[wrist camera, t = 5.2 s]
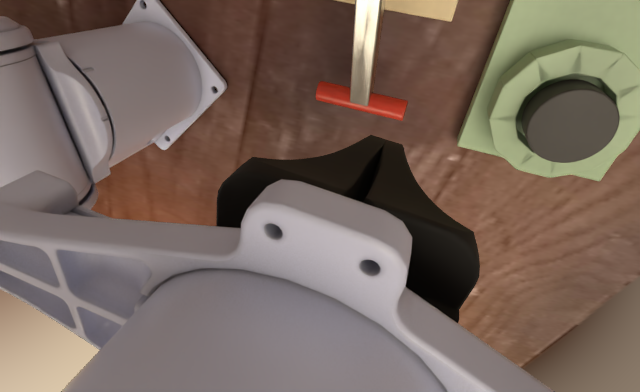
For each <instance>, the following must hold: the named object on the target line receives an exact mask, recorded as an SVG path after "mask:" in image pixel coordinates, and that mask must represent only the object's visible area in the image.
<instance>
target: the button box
mask: <svg viewBox="0 0 640 392" xmlns="http://www.w3.org/2000/svg"><path fill="white" fill-rule="evenodd" d="M570 79H577V80H584V81H587V82H590V83H592V84H594V85H596V86H597V87H598V88H599V89H601V90H602V91H603V92H604V93H605V94H606V95H608V96H609V97H610V98H611V99H612V100H613V101H614V102H615V104H616V106H617V108H618V111H619V116H620V120H619V126H618V129H617V132H616V134H615V135H614V137H613V139H612V140H611V141H610V143H609V144H608V145H607V146H606V147H604V148H603V149H602V150H601V151H599V152H598V153H596V154H595V155H593V156H591V157H589V158H586V159H583V160H580V161H576V162H570V163H558V162H552V161H548V160H546V159H543V158H541V157H540V156H538V155H537V154H536V153H534V152H533V150H532V149H531V148H530V146H529V144H528V142H527V139H526V137H525V134H524V132H523V129H522V123H521V120H522V114H523V111H524V108H525V106H526V105H527V103H528V102H529V100H530V99H531V98H532V97H533V96H534V95H535V94H536V93H537V92H538V91H540V90H541V89H543V88H544V87H546V86H548V85H550V84H552V83H555V82H558V81H563V80H570ZM639 130H640V0H510V2H509V5H508V8H507V10H506V13H505V15H504V18H503V21H502V23H501V26H500V28H499V31H498V34H497V36H496V39H495V41H494V44H493V47H492V49H491V52H490V54H489V57H488V60H487V62H486V65H485V67H484V70H483V73H482V75H481V78H480V80H479V83H478V86H477V88H476V91H475V93H474V96H473V99H472V101H471V104H470V106H469V109H468V112H467V114H466V117H465V119H464V122H463V124H462V127H461V130H460V132H459V135H458V137H457V146H459V147H463V148H467V149H471V150H475V151H479V152H483V153H487V154H491V155H495V156H500V157H504V158H505V159H506V160H507V161H508V162H509V163H510V164H511V165H512V166H513V167H514V168H515V169H517V170H521V171H525V172H528V173H532V174H536V175H540V176H544V177H548V178H550V177H558V176H564V175H570V174H572V175H576V176H580V177H584V178H588V179H592V180H596V181H600V180H601V179H602V177H603V176H604V174H605V173H606V171H607V170H608V169H609V167H610V166H611V164H612V163H613V161H614V160H615V159H616V157H617V156H618V155H619V154H620V153H622V152H624V151H625V149H627V147H628V146H629V144H630V143H631V141H632V140H633V139H634V137H635V136H636V134H637V133H638V131H639Z"/></svg>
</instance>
